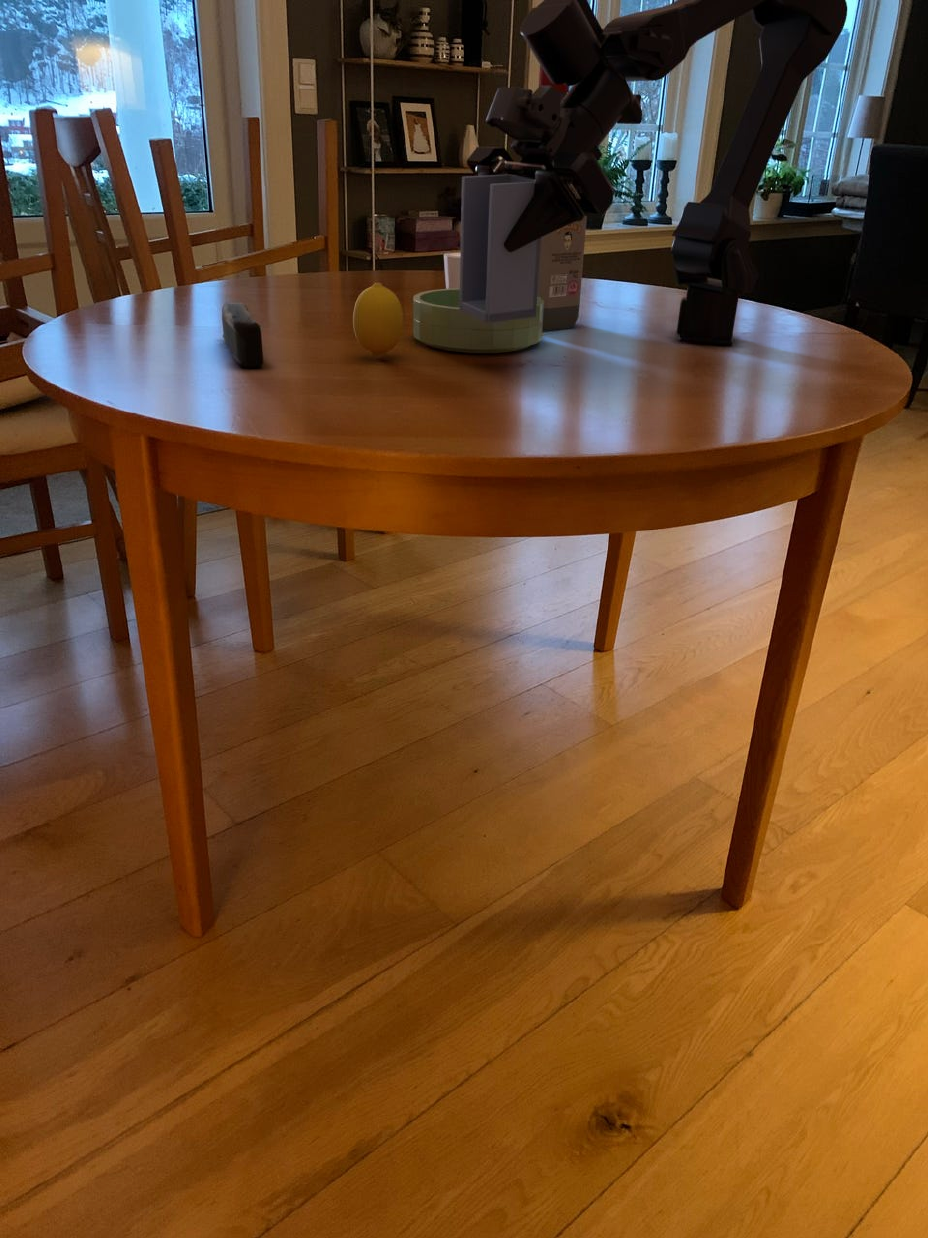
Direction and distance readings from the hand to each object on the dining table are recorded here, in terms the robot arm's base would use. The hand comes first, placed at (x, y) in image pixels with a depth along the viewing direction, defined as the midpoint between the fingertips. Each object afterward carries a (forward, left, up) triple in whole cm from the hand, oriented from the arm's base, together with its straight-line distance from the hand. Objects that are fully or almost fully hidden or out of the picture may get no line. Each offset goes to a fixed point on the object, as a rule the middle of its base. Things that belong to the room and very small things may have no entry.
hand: (487, 244), depth 91 cm
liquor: (-1, -28, -13) cm, 30 cm away
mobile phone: (+27, +3, -13) cm, 30 cm away
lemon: (+12, -1, -13) cm, 18 cm away
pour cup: (-1, -1, -7) cm, 7 cm away
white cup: (+12, -38, -13) cm, 41 cm away
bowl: (+4, -14, -12) cm, 19 cm away
